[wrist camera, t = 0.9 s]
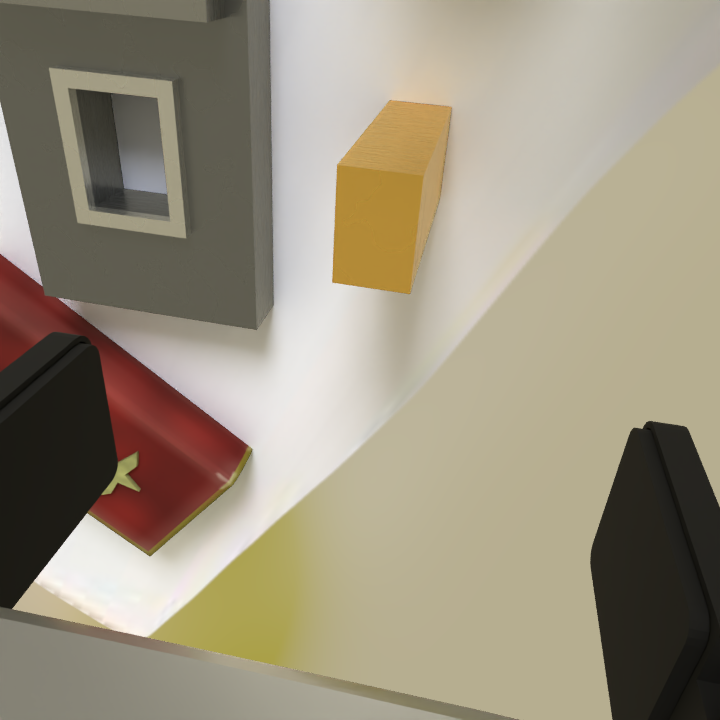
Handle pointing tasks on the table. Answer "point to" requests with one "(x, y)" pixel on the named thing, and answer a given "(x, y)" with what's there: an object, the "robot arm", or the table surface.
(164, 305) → the grey box with slot
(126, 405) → the hardcover book
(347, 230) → the brass peg in socket
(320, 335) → the table surface
